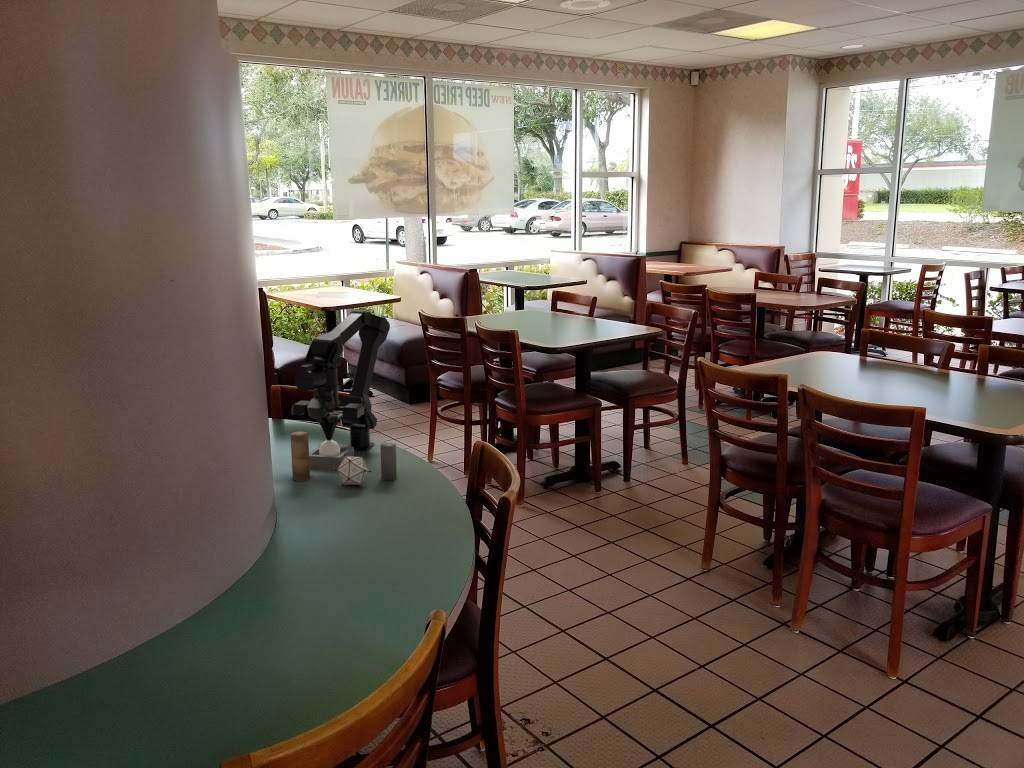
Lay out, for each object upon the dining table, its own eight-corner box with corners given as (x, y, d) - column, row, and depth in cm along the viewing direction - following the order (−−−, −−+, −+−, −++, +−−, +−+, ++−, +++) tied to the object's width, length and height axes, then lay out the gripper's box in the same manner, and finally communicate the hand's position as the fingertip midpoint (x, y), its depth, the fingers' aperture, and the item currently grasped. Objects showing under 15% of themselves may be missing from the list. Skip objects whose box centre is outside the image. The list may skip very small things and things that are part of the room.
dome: (324, 457, 231) (323, 436, 230) (343, 458, 230) (342, 437, 229) (316, 463, 225) (315, 442, 224) (335, 464, 224) (334, 443, 223)
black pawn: (384, 475, 218) (383, 442, 216) (398, 476, 217) (398, 443, 215) (379, 480, 214) (378, 446, 212) (393, 481, 213) (393, 447, 211)
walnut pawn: (297, 475, 217) (294, 431, 215) (313, 476, 216) (310, 432, 214) (289, 480, 213) (287, 435, 210) (305, 482, 212) (303, 437, 210)
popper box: (320, 455, 233) (319, 444, 233) (354, 458, 232) (353, 447, 231) (305, 466, 224) (304, 455, 223) (340, 469, 222) (339, 457, 221)
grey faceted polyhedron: (346, 498, 211) (328, 464, 213) (376, 483, 214) (358, 449, 216) (346, 492, 203) (328, 457, 205) (378, 476, 206) (359, 441, 207)
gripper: (280, 389, 217) (284, 446, 220) (348, 392, 213) (350, 450, 217) (299, 380, 227) (302, 434, 231) (364, 383, 224) (365, 438, 228)
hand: (329, 439), depth 226 cm, fingers closed
